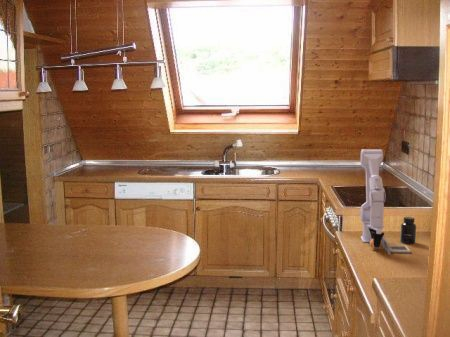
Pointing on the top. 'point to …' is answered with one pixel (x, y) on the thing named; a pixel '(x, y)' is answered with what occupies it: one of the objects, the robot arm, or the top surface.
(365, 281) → the top surface
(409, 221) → the supplement bottle
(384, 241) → the grey wall
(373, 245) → the coral ball
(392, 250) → the mat
